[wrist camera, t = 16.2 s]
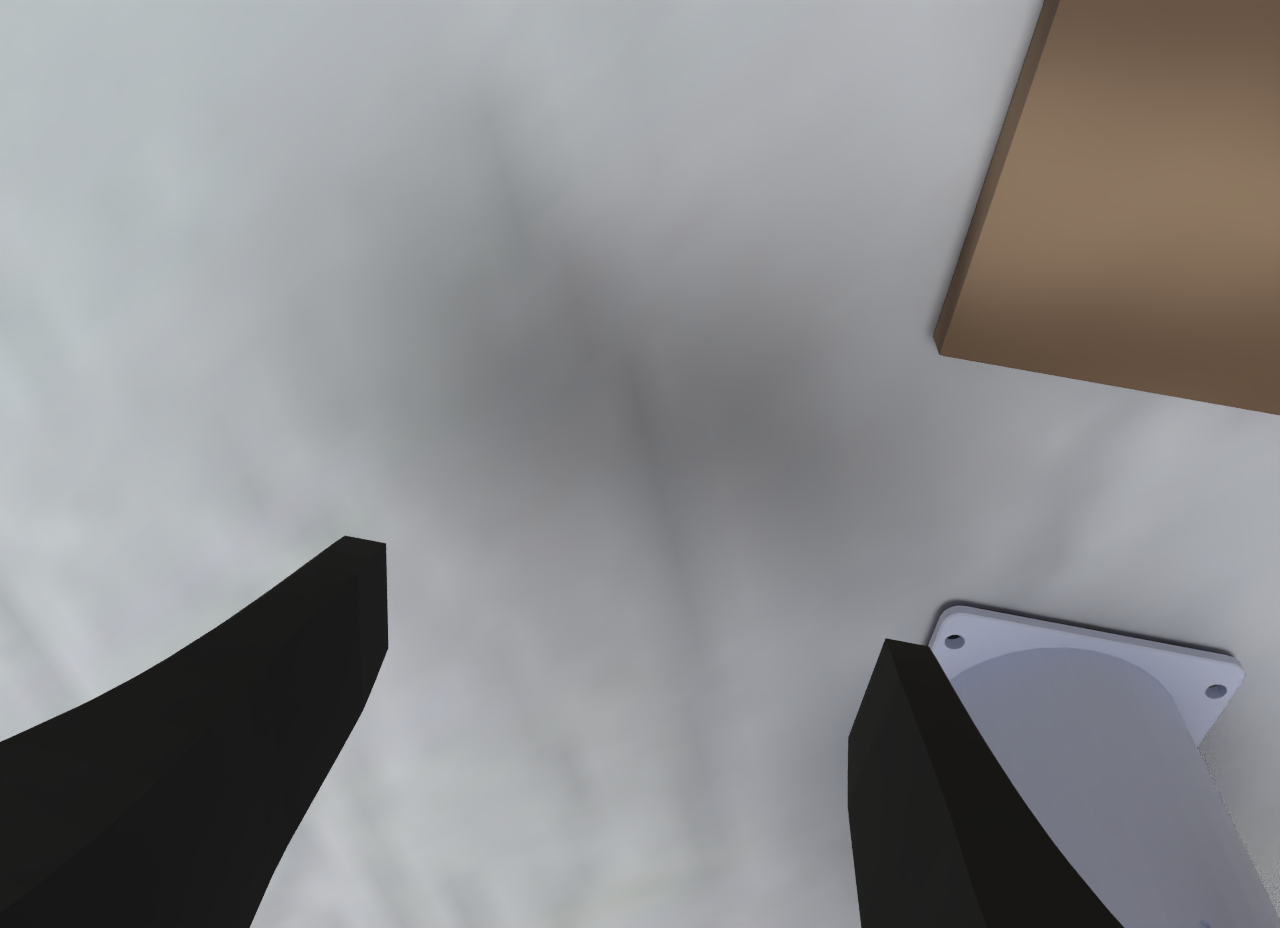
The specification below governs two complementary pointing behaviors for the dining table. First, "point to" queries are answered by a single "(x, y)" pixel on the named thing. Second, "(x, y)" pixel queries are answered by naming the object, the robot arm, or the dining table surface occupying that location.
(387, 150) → the dining table surface
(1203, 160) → the board
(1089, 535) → the dining table surface
